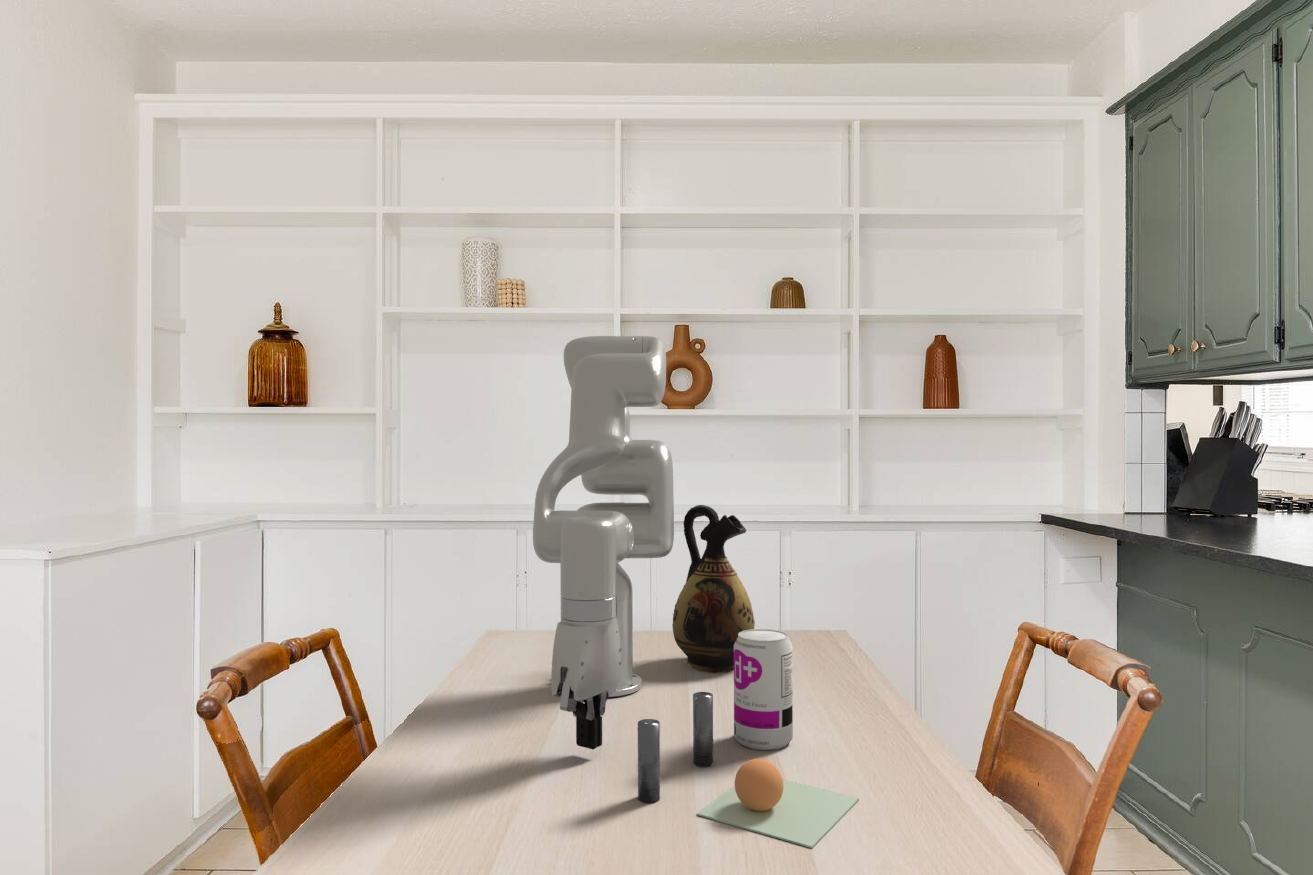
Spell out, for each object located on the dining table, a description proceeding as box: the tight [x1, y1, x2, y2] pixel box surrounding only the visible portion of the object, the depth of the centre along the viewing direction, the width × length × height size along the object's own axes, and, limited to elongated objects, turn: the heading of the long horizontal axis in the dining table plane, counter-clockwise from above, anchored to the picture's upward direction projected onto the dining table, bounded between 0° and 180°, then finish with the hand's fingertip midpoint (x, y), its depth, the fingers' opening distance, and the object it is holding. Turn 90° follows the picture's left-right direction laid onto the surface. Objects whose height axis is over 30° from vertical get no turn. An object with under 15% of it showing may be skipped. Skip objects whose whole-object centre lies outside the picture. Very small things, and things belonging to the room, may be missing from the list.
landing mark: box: [696, 778, 860, 849], centre depth 97 cm, size 14×14×1 cm
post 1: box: [637, 718, 661, 804], centre depth 99 cm, size 3×3×9 cm
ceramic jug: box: [672, 504, 756, 674], centre depth 157 cm, size 17×15×30 cm
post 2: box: [692, 691, 714, 768], centre depth 110 cm, size 3×3×9 cm
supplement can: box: [733, 628, 794, 751], centre depth 118 cm, size 8×8×15 cm
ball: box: [734, 758, 784, 811], centre depth 96 cm, size 6×6×6 cm
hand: (589, 745), depth 112 cm, fingers closed
